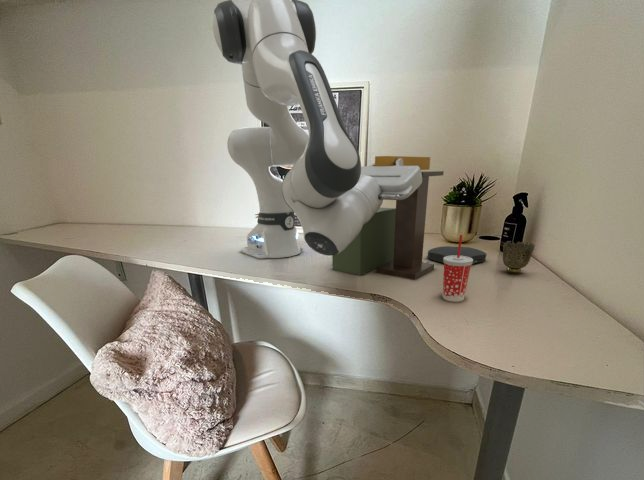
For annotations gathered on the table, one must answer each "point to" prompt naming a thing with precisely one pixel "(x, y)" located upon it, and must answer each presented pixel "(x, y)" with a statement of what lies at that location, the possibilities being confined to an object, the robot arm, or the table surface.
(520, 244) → the cup
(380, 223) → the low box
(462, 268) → the beverage cup
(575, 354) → the table surface
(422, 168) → the wooden bar
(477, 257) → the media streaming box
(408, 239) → the shelf stand
